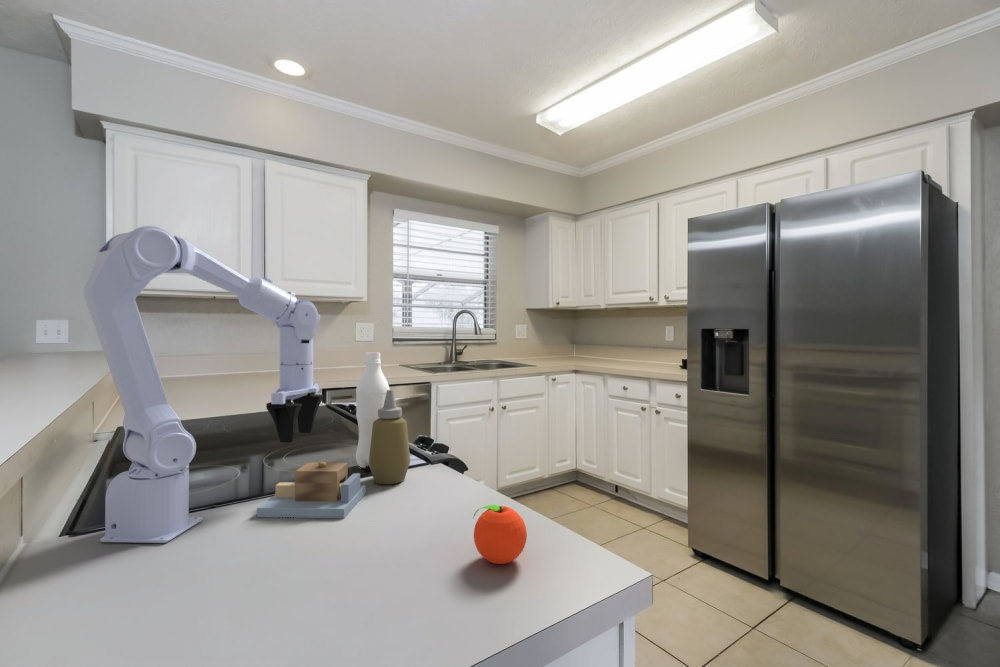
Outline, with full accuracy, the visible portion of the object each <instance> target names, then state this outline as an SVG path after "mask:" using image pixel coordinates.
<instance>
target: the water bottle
mask: <svg viewBox="0 0 1000 667" xmlns="http://www.w3.org/2000/svg"><path fill="white" fill-rule="evenodd" d="M381 361H382V360H381V352H378V351H377V352H375V351H371V352H365V362H364V365H365V367H364V368H365V369H364V372H363V373H362V374H361V376H360V379H359V381H358V382H357V385H356V388H355V395H356V398H355V400H356V404H355V406H356V407H355V408H356V413H355V417H356V420H357V426H358V441H357V442H358V443H357V446H356V450H355V460H356V463H357V465H358V467H359V466H360V467H366V466H367V467H369V468H370V466H369V455H370V446H371V436H372V427H373V422H374V421H375V420H376V419H378V418H379V417H378V409H379V408H383V406H384V401H385V397H386V392H387V390H391V389H390V385H389V382H388V380H387V378H386V376H385V374H384V372H383V370H382V368H381V364H382V362H381ZM360 467H359V468H360Z"/></svg>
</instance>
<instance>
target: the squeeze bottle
mask: <svg viewBox="0 0 1000 667" xmlns="http://www.w3.org/2000/svg"><path fill="white" fill-rule="evenodd" d="M378 417H379V418H378V419H376V420H375V421H374V422H373V427H372V436H371V446H370V455H369V465H368V467H369V466H370V467H369V469H370V471H371V475H372V478H373V481H374V482H375V483H376V484H378V483H379V485H393V484H394V483H395V484H398V482H399V483H401V481H402V482H403V481H405V479H406V476H407V473H408V470H409V466H410V464H411V454H410V453H411V452H410V445H409V432H408V424H407V420H406V419H405V418H403V409H402V407H401V406H400V407H399V406H398V405H397V403H396V398H395V393H394V390H393V389H390V390H387V392H386V397H385V401H384V406H383V408H379V409H378Z"/></svg>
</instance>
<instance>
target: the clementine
mask: <svg viewBox="0 0 1000 667" xmlns="http://www.w3.org/2000/svg"><path fill="white" fill-rule="evenodd" d="M481 509H482V510H483V509H486V510H485V511H484V512H482V514H481V515H480V516H479V517H478V519H477V520H476V522H475V524H474V528H473V529H474V530H473V539H474V545H475V548H476V550H477V551H478V553H479V554H480V555H481V557H482V558H483V559H485V560H486V561H488V562H489V563H492V564H495V565H506V564H508V563H511V562H513V561H514V560H516V559H518V557H519V556H520V555H521V554H522V553H523V552H524V549H525V546H526V543H527V539H528V538H527V537H528V534H527V526H526V524H525V522H524V520H523V517H521V515H520V514H519V513H518V511H516V510H514V509H513V508H511V507H509V506H505V505H496V504H488V505H485V506H482V507H480V508H478V509H476V511H475V512H474V514H473V518H472V519H474V518H475V516H476V514H477V513H478V512H479V511H480V510H481Z"/></svg>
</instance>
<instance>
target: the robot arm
mask: <svg viewBox="0 0 1000 667" xmlns="http://www.w3.org/2000/svg"><path fill="white" fill-rule="evenodd" d="M163 274H188V275H191V276H192V277H196V278H198V279H200V280H202V281H205V282H206V283H208V284H210V285H213V286H216V287H217V288H220V289H222V290H224V291H225V292H229V293H230V294H233V295H235V296H236V297H237V300H238V302H239V304H240V306H241V307H243V308H245V309H247V310H250V311H252V312H254V313H255V314H258V315H260V316H262V317H264V318H266V319H268V320H270V321H272V322H273V323H274V325H275V326H276V327H277V329H279V388H278V389H276V390H275V391H274V392H271V399H270V400H271V401H270V402H267V403H266V405H265V406H266V408H265V409H266V410H267V411H268V413H269V415H270V416H271V418H272V421H273V422H274V425H275V429H276V433H277V436H278V439H279V443H284V444H285V443H288V444H289V443H293V442H294V439H295V436H296V434H295V433H296V428H297V427H298V432H299V433H300V434H310V433H312V432H313V428H314V423H315V419H316V414H317V412H318V410H319V407H320V405H321V403H322V401H323V399H324V395H323V394H320V393H319V391H320V387H319V382H318V383H315V382H314V337H315V330H316V328H317V326H318V325H319V324H320V322H321V314H319V312H318V309H317V307H316V306H315V304H314V303H313V302H312V301H310V300H308V299H298V298H297V297H296V293H294V292H292V291H287V290H284V289H282V288H280V287H278V286H277V285H275V284H273V282H274V281H273V279H271V278H270V277H267V276H266V277H261V276H255V277H251V278H248V277H246V276H244V275H243V274H241V273H239V272H237V271H236V270H235V269H232V268H231V267H229V266H228V265H227V264H226V265H225V264H224V263H222V262H221V261H219V260H218V259H216V258H214V257H212V256H211V255H209V254H208V253H206V252H204V251H203V250H201V249H199V248H198V247H196V246H194V245H193V244H191V243H190V242H189V241H188V240H187V239H185V238H183V237H179V236H177V235H173V234H171V233H170V232H169V231H167V230H166V229H164V228H161V227H158V226H154V225H143V226H140V227H137V228H135V229H134V230H132V231H129V232H124V233H123V232H122V233H119V234H116V235H114V236H112V237H111V238H110V239H108V240H107V241H106V242H105V243H104V244H102V246H100V248H98V249H97V250H96V257H95V260H94V263H93V266H92V268H91V271H90V273H89V275H88V278H87V281H86V283H85V286H84V288H83V296H84V298H85V299H84V300H85V301H86V304H87V307H88V310H89V313H90V316H91V318H92V322H93V326H94V327H95V331H96V334H97V336H98V340H99V343H100V345H101V348H102V351H103V354H104V357H105V359H106V363H107V366H108V368H109V371H110V373H111V377H112V379H113V382H114V385H115V388H116V391H117V394H118V397H119V399H120V402H121V406H122V408H123V412H124V418H123V420H122V426H123V428H124V438H123V444H122V451H123V454H124V456H125V457H126V458H127V459H128V460H129V461H131V465H130V466H129V469H128V470H126V471H123V472H120V473H118V474H117V475H116V476H115V477H113V479H112V480H111V481H110V483H109V485H108V487H107V489H106V492H105V506H104V507H105V512H104V513H105V518H104V519H105V523H104V524H105V526H104V527H105V529H104V530H105V532H104V533H105V535H104V536H103V537H101V538H100V541H99V542H101V543H139V544H141V543H144V544H145V543H146V544H147V543H149V544H150V543H152V544H153V543H154V544H164V543H168V542H169V541H171V540H174V539H175V538H176V537H178V536H179V535H181V534H183V533H184V532H186V531H187V530H189V529H191V528H192V527H194V526H196V525H197V524H199V523H200V522H201V521H203V517H202V516H189V515H190V511H189V510H190V509H189V507H190V504H189V503H190V501H189V499H190V498H189V497H190V496H189V494H190V485H189V484H190V468H189V466H190V463H192V460H193V459H194V458H195V455H196V452H197V443H196V439H195V437H194V436H193V435H192V434H191V433H190V432H188V431H187V430H186V429H185V428H184V426H183V424H182V421H181V418H180V417H179V415H178V414H177V413H176V411H175V410H174V409H173V408H172V407H171V405H170V403H169V400H168V397H167V394H166V391H165V388H164V385H163V382H162V379H161V375H160V373H159V369H158V365H157V363H156V360H155V357H154V353H153V351H152V348H151V345H150V342H149V338H148V335H147V331H146V329H145V326H144V322H143V320H142V317H141V313H140V310H139V307H138V303H137V301H136V298H138V296H139V295H140V294H141V293H142V292H143V291H144V289H146V287H147V286H148V285H149V283H150V282H151V281H152V280H154V279H156V278H157V277H158V276H161V275H163ZM318 393H319V394H318ZM296 426H297V427H296Z"/></svg>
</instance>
